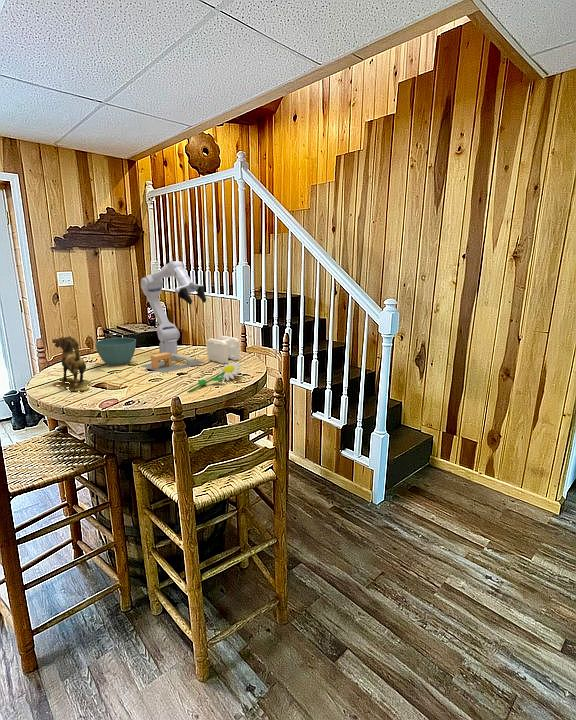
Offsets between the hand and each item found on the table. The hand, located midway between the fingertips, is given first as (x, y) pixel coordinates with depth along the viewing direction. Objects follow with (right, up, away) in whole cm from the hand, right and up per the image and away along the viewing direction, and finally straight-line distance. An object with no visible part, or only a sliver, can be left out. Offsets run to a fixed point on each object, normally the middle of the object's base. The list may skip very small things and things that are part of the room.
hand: (198, 302), depth 189 cm
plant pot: (-42, -30, +12) cm, 53 cm away
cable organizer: (+9, -27, +20) cm, 35 cm away
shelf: (-14, -30, +8) cm, 34 cm away
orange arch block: (-18, -30, +3) cm, 35 cm away
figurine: (-48, -38, -18) cm, 63 cm away
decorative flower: (+11, -37, -17) cm, 42 cm away
